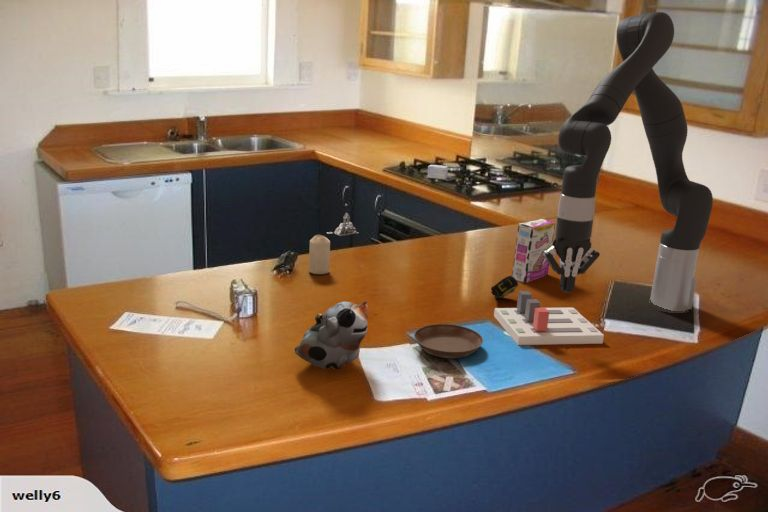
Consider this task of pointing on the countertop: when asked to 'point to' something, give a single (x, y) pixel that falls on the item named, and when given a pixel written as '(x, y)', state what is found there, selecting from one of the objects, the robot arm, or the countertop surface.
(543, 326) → the block
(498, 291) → the tape measure
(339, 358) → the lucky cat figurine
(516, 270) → the candy bar box
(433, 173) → the medicine box
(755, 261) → the countertop surface
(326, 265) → the candle
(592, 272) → the countertop surface
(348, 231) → the grey stone figurine
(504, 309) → the breaker panel
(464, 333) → the saucer
